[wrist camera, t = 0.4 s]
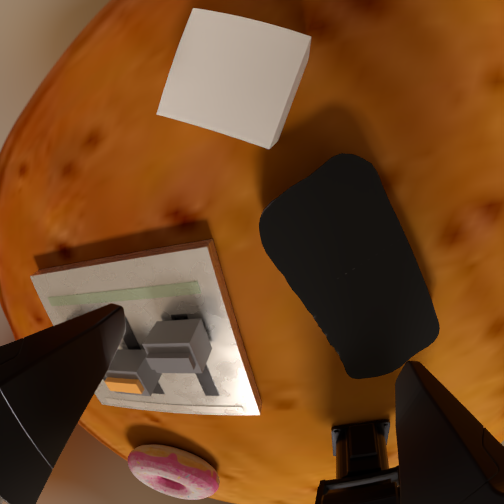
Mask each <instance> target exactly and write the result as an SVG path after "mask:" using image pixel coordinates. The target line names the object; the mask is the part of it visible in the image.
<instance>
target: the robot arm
mask: <svg viewBox="0 0 504 504" xmlns="http://www.w3.org/2000/svg"><path fill="white" fill-rule="evenodd" d="M125 331H126V323H125V314H124V308H123V307H122V306H120V305H117V304H113V303H111V304H108V305H105V306H103V307H100V308H98V309H95V310H93V311H90V312H87V313H85V314H82V315H80V316H77V317H75V318H72V319H70V320H67V321H65V322H62V323H60V324H57V325H54V326H52V327H49V328H47V329H44V330H42V331H39V332H37V333H34V334H32V335H29V336H27V337H24V339H23V338H21V339H19V340H16V341H14V342H11V343H9V344H6V345H3V346H0V504H2V502H3V500H4V501H5V502H7V503H8V504H36V502H37V500H38V498H39V496H40V494H41V492H42V490H43V488H44V486H45V484H46V482H47V480H48V478H49V476H50V474H51V472H52V469H53V468H54V465H55V464H56V462H57V460H58V458H59V456H60V454H61V452H62V450H63V449H64V447H65V445H66V443H67V441H68V439H69V437H70V436H71V433H72V432H73V430H74V428H75V426H76V424H77V423H78V421H79V419H80V417H81V416H82V414H83V412H84V410H85V409H86V407H87V405H88V403H89V402H90V400H91V398H92V396H93V395H94V393H95V391H96V390H97V388H98V386H99V384H100V383H101V381H102V379H103V378H104V376H105V374H106V372H107V371H108V369H109V367H110V365H111V362H112V360H113V358H114V356H115V353H116V351H117V349H118V347H119V345H120V343H121V340H122V338H123V336H124V334H125ZM395 398H396V435H397V446H398V459H399V466H396V467H394V468H390V469H389V465H388V456H387V449H386V445H387V439H388V433H389V427H390V421H389V420H388V419H385V420H379V421H372V422H366V423H359V424H351V425H343V426H335V427H333V428H332V444H333V455H334V456H336V479H333V480H321V481H320V485H319V487H318V490H317V496H316V501H315V504H504V446H502V444H500V443H499V442H498V441H497V440H496V439H495V438H494V437H493V436H492V435H491V433H490V432H489V431H488V430H487V429H486V428H483V425H482V424H481V423H480V422H479V421H478V420H477V419H476V418H475V417H474V416H473V415H472V414H471V413H470V412H469V411H468V410H467V409H466V408H465V407H464V406H463V405H462V404H461V403H460V402H459V401H458V400H457V399H456V398H455V397H454V396H453V395H452V394H451V393H450V392H449V391H448V390H447V389H446V388H445V387H444V386H443V385H442V384H441V383H440V382H439V381H438V380H437V379H436V378H435V377H434V376H433V375H432V374H431V373H430V372H429V371H428V370H427V369H426V368H425V367H424V366H423V365H422V364H421V363H420V362H418V361H407V362H406V363H405V365H404V367H403V369H402V370H401V372H400V374H399V376H398V377H397V380H396V383H395ZM397 486H398V487H397Z"/></svg>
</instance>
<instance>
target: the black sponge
mask: <svg viewBox="0 0 504 504" xmlns="http://www.w3.org/2000/svg"><path fill="white" fill-rule="evenodd" d="M259 231H260V237H261V242H262V244H263V247H264V249H265V251H266V253H267V254H268V256H269V257H270V259H271V260H272V261H273V263H274V264H275V266H276V267H277V268H278V270H279V271H280V272H281V273H282V274H283V275H284V276H285V278H286V280H287V282H288V284H289V285H290V287H291V288H292V290H293V291H294V292H295V293H296V294H297V295H298V297H299V298H300V299H301V301H302V302H303V304H304V305H305V307H306V308H307V310H308V311H309V312H310V313H311V314H312V315H313V317H314V319H315V321H316V322H317V323H318V326H319V327H320V328H321V329H322V332H323V333H324V334H325V335H326V336H327V340H328V341H329V343H330V345H332V346H333V347H334V348H335V350H336V352H337V353H338V354H339V356H340V359H341V361H342V362H343V364H344V367H345V370H346V372H347V374H348V375H349V376H350V377H351V378H355V379H362V378H371V377H377V376H381V375H385V374H388V373H390V372H393V371H394V370H396V369H398V368H399V367H401V366H402V365H403V364H404V363H405V362H407V361H408V360H409V359H410V358H411V357H412V356H414V355H415V354H416V353H418V352H419V351H421V350H423V349H424V348H426V347H428V346H429V345H430V344H431V343H433V342H434V341H435V339H436V338H437V336H438V334H439V329H440V328H439V322H438V319H437V316H436V313H435V310H434V306H433V303H432V300H431V298H430V295H429V292H428V289H427V286H426V284H425V281H424V279H423V276H422V274H421V271H420V269H419V266H418V264H417V261H416V259H415V257H414V254H413V252H412V250H411V247H410V245H409V243H408V240H407V238H406V236H405V234H404V231H403V229H402V227H401V225H400V222H399V220H398V218H397V216H396V214H395V212H394V210H393V208H392V206H391V204H390V202H389V200H388V197H387V195H386V193H385V190H384V188H383V186H382V183H381V180H380V178H379V175H378V173H377V171H376V169H375V168H374V167H373V165H372V164H371V163H370V162H368V161H366V160H365V159H363V158H361V157H359V156H356V155H353V154H343V153H341V154H339V155H336V156H334V157H332V158H330V159H329V160H328V161H327V162H326V163H324V164H323V165H322V166H321V167H320V168H318V169H317V170H316V171H315V172H314V173H313V174H311V175H310V176H308V177H307V178H305V179H303V180H302V181H300V182H298V183H297V184H295V185H293V186H292V187H290V188H289V189H287V190H286V191H285V192H284V193H283V194H281V195H280V196H279V197H278V198H276V199H275V200H273V201H271V202H270V203H269V205H268V206H267V207H266V208H265V209H264V210H263V212H262V214H261V218H260V222H259Z"/></svg>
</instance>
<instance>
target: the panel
mask: <svg viewBox="0 0 504 504" xmlns="http://www.w3.org/2000/svg"><path fill="white" fill-rule="evenodd" d="M30 277H31V280H32V282H33V284H34V286H35V289H36V291H37V293H38V295H39V297H40V299H41V301H42V304H43V306H44V308H45V310H46V312H47V314H48V316H49V318H50V320H51V321H52V323H53V325H57V324H60V323H62V322H65V321H67V320H70V319H72V318H75V317H77V316H80V315H82V314H85V313H87V312H90V311H93V310H95V309H98V308H100V307H103V306H105V305H108V304H111V303H113V304H117V305H120V306H122V307H123V308H124V314H125V323H126V331H125V334H124V336H123V338H122V340H121V343H120V345H119V347H118V349H125V350H145V349H144V347H143V345H142V343H143V341H144V340H145V338H146V337H147V335H148V334H149V332H150V331H151V329H152V328H153V326H154V325H155V323H156V322H157V321H171V320H187V319H202V322H203V325H204V328H205V330H206V333H207V336H208V338H209V341H210V344H211V347H212V350H211V352H210V355H209V358H208V360H207V363H206V365H205V368H204V370H203V373H162V375H161V377H160V379H159V381H158V383H157V385H156V387H155V389H154V391H153V393H152V394H151V396H141V395H130V394H121V393H115V391H110V390H109V388H108V386H107V385H106V383H105V382H104V381H105V380H106V377H105V376H104V378H103V379H102V381H101V383H100V384H99V386H98V388H97V390H96V391H95V395H96V396H97V398H98V399H99V401H100V402H101V403H102V404H104V405H111V406H117V407H125V408H132V409H141V410H150V411H160V412H172V413H186V414H206V415H260V413H261V408H262V402H261V399H260V396H259V392H258V389H257V386H256V383H255V380H254V377H253V374H252V370H251V367H250V364H249V361H248V358H247V354H246V351H245V348H244V345H243V341H242V338H241V335H240V331H239V328H238V325H237V321H236V318H235V315H234V311H233V308H232V305H231V301H230V298H229V294H228V291H227V287H226V284H225V281H224V277H223V274H222V270H221V267H220V263H219V259H218V256H217V252H216V249H215V245H214V242H213V239H209V240H203V241H197V242H191V243H185V244H179V245H173V246H168V247H162V248H156V249H150V250H144V251H139V252H133V253H127V254H122V255H116V256H111V257H105V258H100V259H94V260H89V261H83V262H78V263H73V264H67V265H62V266H57V267H51V268H46V269H41V270H38V271H37V272H35V273H34V274H33V275H31V276H30Z"/></svg>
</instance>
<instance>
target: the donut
mask: <svg viewBox="0 0 504 504" xmlns="http://www.w3.org/2000/svg"><path fill="white" fill-rule="evenodd" d="M128 466H129V468H130V470H131V471H132V473H133V474H134V476H135V477H137V478H138V479H139V480H140V481H141V482H143V483H144V484H146V485H147V486H149V487H151V488H153V489H155V490H157V491H159V492H161V493H164V494H167V495H170V496H173V497H177V498H182V499H189V500H198V499H203V498H205V497H209V496H211V495H213V494H214V493H215V492H216V491H217V489H218V487H219V483H220V481H219V477H218V473H217V472H216V470H215V469H214V468H213V467H212V466H211V465H210V464H208V463H207V462H206V461H205V460H203V459H201V458H200V457H198V456H196V455H194V454H192V453H189V452H187V451H184V450H181V449H178V448H175V447H171V446H165V445H156V444H152V445H142V446H138V447H137V448H135V449H134V450H132V451H131V453H130V454H129V456H128Z"/></svg>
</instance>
